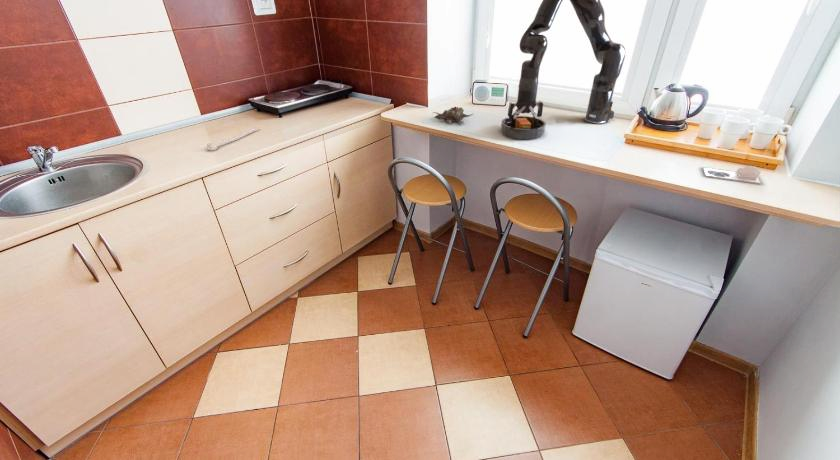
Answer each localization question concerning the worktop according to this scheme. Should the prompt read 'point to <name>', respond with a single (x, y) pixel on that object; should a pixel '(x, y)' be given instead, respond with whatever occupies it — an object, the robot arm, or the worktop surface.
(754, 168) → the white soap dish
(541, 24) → the robot arm
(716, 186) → the worktop surface
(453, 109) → the figurine
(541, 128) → the pan
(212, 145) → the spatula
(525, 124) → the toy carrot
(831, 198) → the worktop surface
